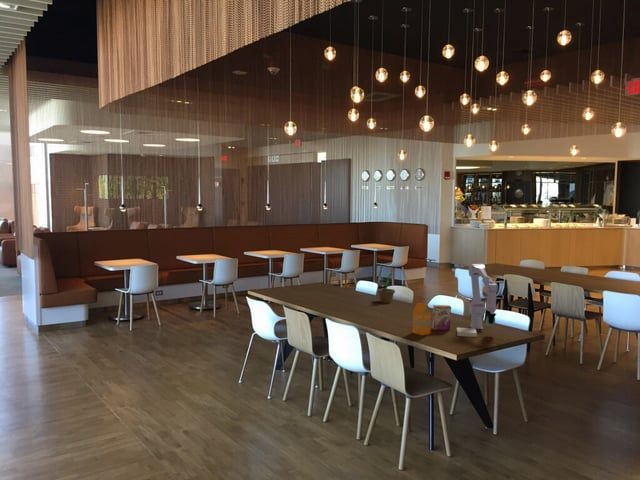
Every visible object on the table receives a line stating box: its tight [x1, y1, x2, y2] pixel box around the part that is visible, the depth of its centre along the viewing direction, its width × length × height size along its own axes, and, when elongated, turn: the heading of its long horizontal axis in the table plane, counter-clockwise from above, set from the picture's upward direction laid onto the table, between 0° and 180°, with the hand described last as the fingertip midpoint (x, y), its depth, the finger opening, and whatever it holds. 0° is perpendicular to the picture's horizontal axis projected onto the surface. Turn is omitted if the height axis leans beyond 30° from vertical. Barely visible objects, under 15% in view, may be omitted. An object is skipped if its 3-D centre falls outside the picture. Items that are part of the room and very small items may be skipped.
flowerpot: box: [377, 267, 396, 304], centre depth 446 cm, size 14×14×30 cm
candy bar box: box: [431, 304, 452, 331], centre depth 353 cm, size 11×5×16 cm, turn 92°
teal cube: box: [485, 315, 496, 327], centre depth 340 cm, size 5×5×5 cm
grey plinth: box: [456, 327, 478, 338], centre depth 342 cm, size 12×12×3 cm
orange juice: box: [412, 302, 432, 336], centre depth 342 cm, size 8×9×20 cm
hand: (490, 322), depth 340 cm, fingers closed on teal cube, 5 cm apart
